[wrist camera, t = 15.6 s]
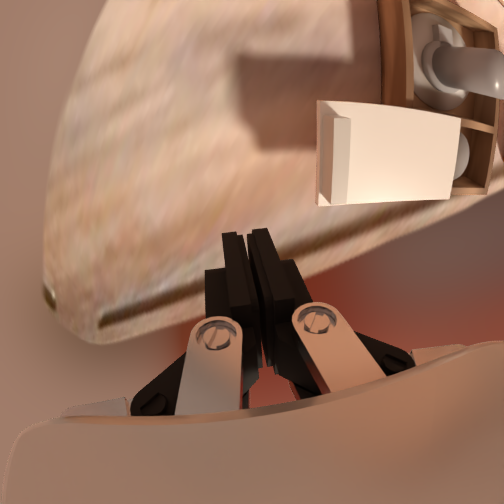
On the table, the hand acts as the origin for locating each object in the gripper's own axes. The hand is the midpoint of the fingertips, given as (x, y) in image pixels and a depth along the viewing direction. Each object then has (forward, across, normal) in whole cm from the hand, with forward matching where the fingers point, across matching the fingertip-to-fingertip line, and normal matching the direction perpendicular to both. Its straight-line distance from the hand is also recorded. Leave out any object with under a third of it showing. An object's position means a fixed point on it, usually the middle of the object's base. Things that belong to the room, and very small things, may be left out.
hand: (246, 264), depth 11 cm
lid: (+11, -14, -1) cm, 17 cm away
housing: (+15, -22, -8) cm, 27 cm away
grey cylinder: (+14, -22, -10) cm, 28 cm away
